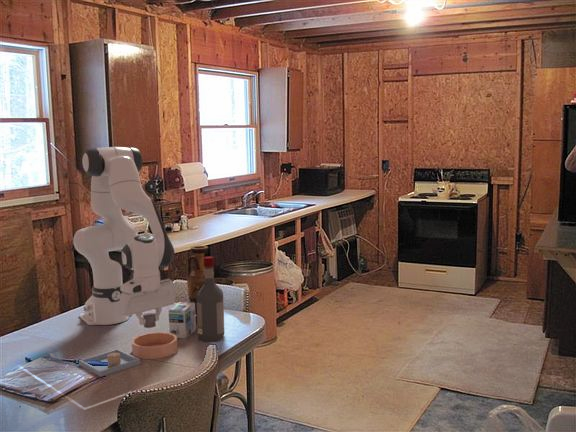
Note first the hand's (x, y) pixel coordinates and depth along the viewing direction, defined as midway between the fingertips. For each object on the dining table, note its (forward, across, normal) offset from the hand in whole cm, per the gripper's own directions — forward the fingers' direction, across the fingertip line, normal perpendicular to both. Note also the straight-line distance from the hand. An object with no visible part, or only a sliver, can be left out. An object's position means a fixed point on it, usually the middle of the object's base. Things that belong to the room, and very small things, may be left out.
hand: (149, 322), depth 206 cm
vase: (+10, -32, -13) cm, 36 cm away
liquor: (+10, -22, +6) cm, 25 cm away
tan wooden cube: (+9, +17, +6) cm, 20 cm away
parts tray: (+10, +17, +3) cm, 20 cm away
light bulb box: (+10, -18, -6) cm, 22 cm away
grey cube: (+1, 0, 0) cm, 1 cm away
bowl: (+10, 0, +3) cm, 10 cm away
